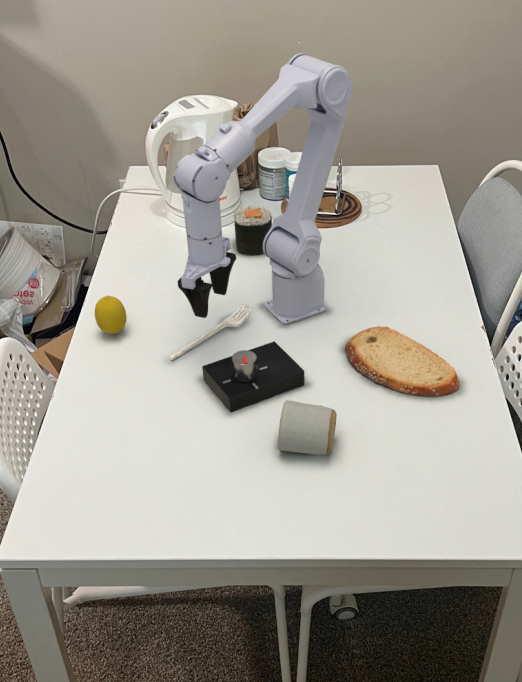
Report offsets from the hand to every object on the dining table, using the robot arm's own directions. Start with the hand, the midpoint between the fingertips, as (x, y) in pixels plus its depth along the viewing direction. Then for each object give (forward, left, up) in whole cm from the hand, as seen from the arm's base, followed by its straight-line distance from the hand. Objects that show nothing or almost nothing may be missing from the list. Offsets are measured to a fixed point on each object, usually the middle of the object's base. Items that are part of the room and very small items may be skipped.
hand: (210, 304), depth 129 cm
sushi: (-24, -28, -9) cm, 38 cm away
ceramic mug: (-1, +31, -9) cm, 32 cm away
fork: (-1, -3, -9) cm, 9 cm away
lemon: (+14, -12, -9) cm, 21 cm away
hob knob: (+1, +15, -5) cm, 15 cm away
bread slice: (-25, +23, -8) cm, 34 cm away
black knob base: (-1, +14, -8) cm, 16 cm away
